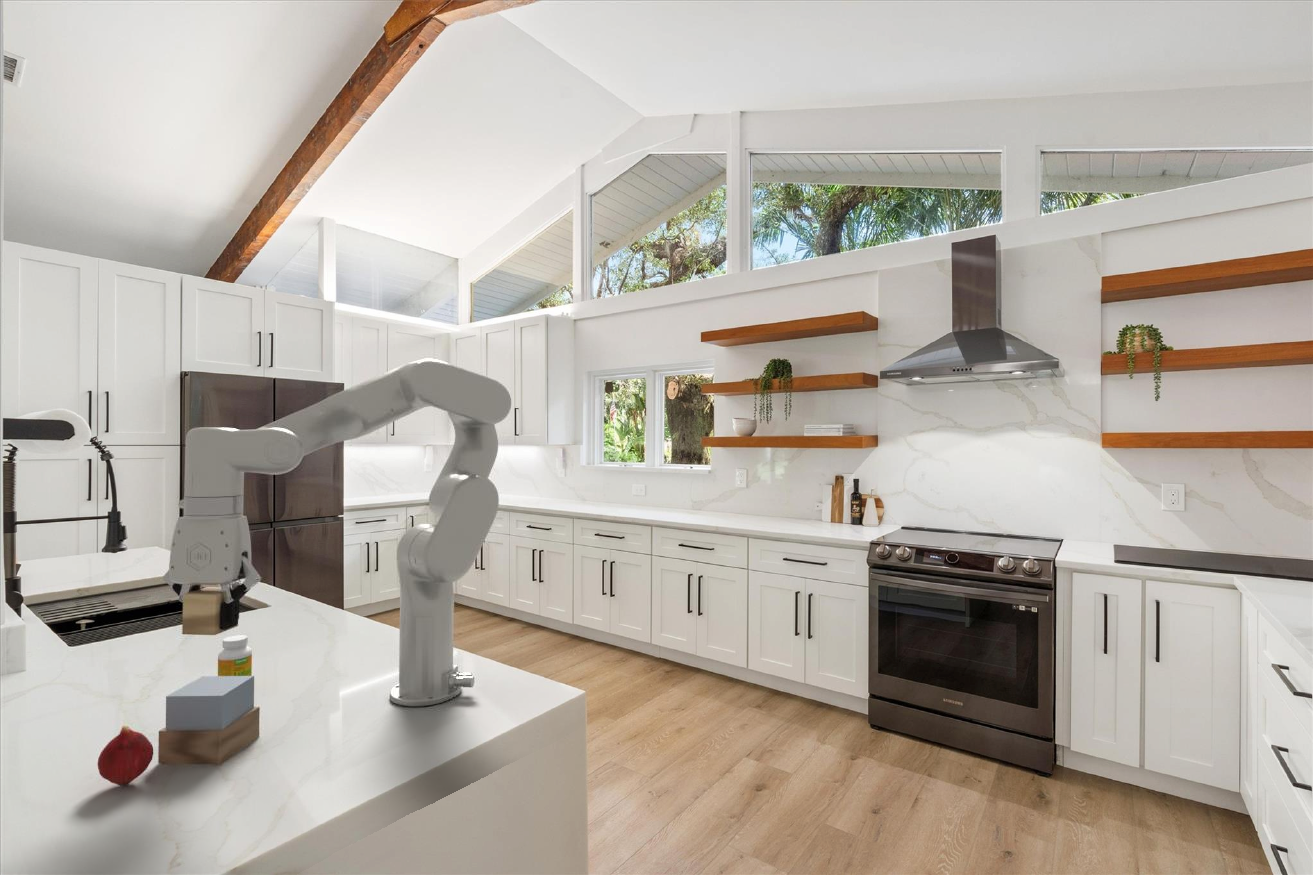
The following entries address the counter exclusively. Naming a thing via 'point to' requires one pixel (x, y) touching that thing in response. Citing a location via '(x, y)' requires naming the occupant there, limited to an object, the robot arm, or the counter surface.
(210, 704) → the grey square block
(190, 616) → the oak block
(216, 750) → the tower base
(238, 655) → the supplement bottle
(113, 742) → the onion
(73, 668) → the counter surface
